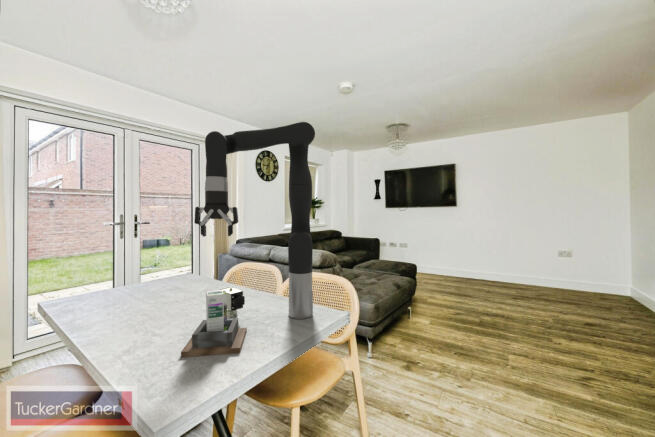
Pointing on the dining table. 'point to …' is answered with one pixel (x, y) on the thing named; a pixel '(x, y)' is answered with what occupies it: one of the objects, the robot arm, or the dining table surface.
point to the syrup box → (216, 310)
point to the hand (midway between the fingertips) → (216, 236)
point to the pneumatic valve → (234, 301)
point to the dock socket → (215, 340)
